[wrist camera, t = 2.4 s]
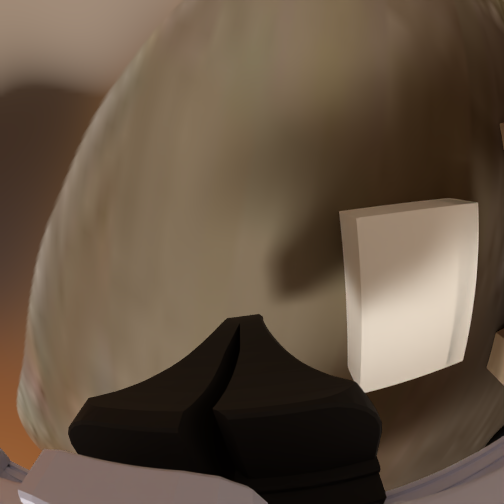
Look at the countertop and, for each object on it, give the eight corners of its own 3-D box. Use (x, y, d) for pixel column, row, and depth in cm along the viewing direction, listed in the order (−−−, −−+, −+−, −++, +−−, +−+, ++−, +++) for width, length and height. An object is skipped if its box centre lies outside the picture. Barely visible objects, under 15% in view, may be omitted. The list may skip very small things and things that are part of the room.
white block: (346, 364, 14) (359, 394, 12) (337, 210, 12) (356, 218, 10) (441, 338, 14) (462, 360, 11) (447, 197, 12) (477, 202, 9)
